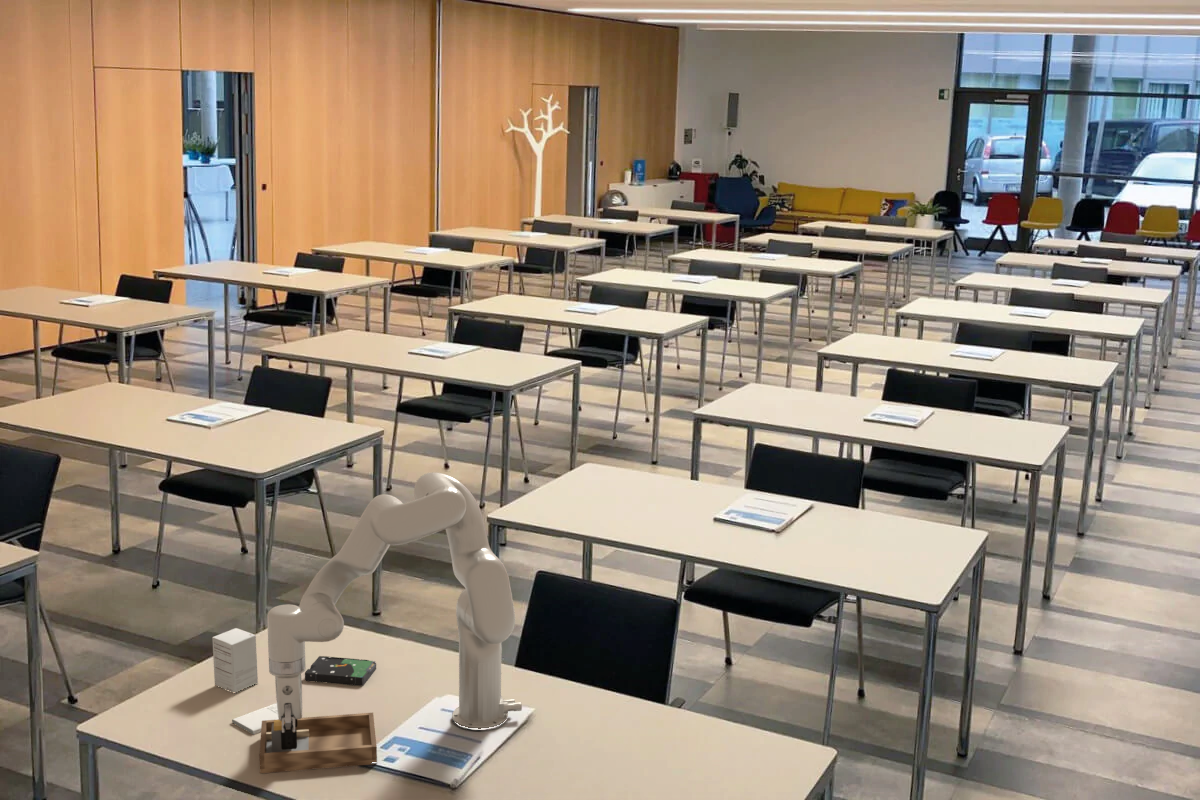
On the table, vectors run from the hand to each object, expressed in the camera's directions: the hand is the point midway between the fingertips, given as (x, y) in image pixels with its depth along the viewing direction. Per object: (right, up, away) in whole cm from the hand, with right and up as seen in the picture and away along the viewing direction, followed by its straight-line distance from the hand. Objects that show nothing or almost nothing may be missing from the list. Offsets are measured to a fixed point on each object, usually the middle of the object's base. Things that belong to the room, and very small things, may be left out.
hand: (289, 737), depth 281 cm
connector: (-2, -2, 0) cm, 3 cm away
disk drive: (+3, +5, +39) cm, 40 cm away
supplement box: (-20, +4, +32) cm, 38 cm away
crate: (+6, -3, +2) cm, 7 cm away
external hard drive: (-9, -1, +16) cm, 18 cm away
